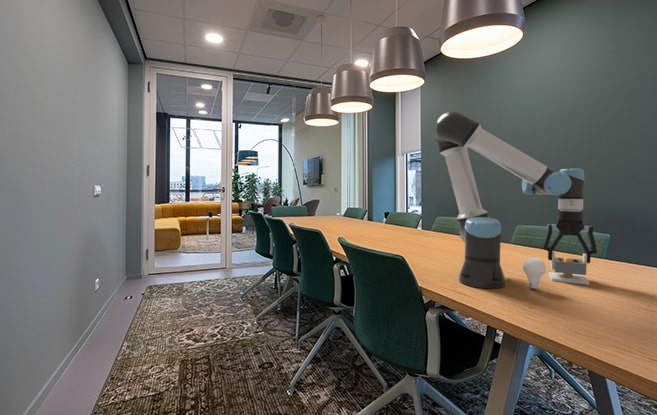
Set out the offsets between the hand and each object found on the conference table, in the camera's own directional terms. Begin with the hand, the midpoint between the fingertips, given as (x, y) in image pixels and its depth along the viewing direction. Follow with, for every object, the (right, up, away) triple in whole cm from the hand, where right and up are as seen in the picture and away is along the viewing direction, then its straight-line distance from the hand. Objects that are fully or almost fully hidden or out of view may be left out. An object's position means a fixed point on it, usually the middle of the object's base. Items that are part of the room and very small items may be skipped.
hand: (568, 270), depth 122 cm
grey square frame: (0, 0, 0) cm, 0 cm away
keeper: (0, -3, 0) cm, 3 cm away
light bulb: (-21, -4, -12) cm, 24 cm away
